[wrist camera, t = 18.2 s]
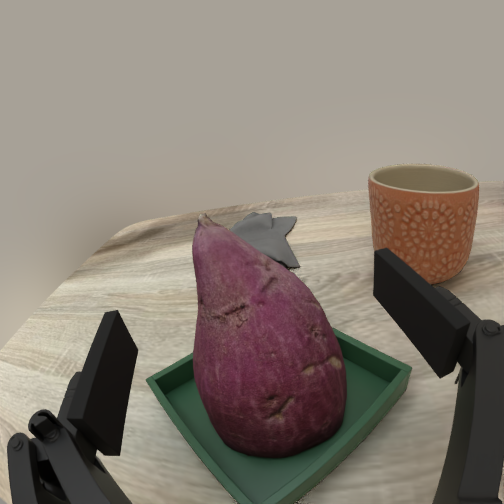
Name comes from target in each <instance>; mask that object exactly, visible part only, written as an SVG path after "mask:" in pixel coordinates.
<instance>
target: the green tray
mask: <svg viewBox="0 0 504 504" xmlns="http://www.w3.org/2000/svg"><path fill="white" fill-rule="evenodd" d="M332 329H333V331H334V334H335V336H336V338H337V340H338V343H339V345H340V348H341V351H342V355H343V360H344V364H345V369H346V380H347V399H346V405H345V412H344V418H343V423H342V425H341V427H340V428H339V430H338V431H337V432H336V433H335V434H334V435H333V436H332V437H331V438H329V439H328V440H326V441H324V442H323V443H321V444H319V445H317V446H315V447H313V448H311V449H309V450H305V451H303V452H301V453H299V454H297V455H293V456H288V457H285V458H264V457H257V456H247V455H245V454H243V453H240V452H237V451H235V450H232V449H231V448H229V447H228V446H227V445H225V444H224V442H223V441H222V440H221V438H220V437H219V435H218V434H217V432H216V431H215V429H214V427H213V425H212V424H211V422H210V419H209V417H208V414H207V412H206V410H205V408H204V405H203V403H202V400H201V398H200V395H199V392H198V389H197V386H196V383H195V378H194V370H193V353H191V354H190V355H188V356H186V357H184V358H183V359H181V360H179V361H177V362H176V363H174V364H172V365H170V366H169V367H167V368H165V369H163V370H162V371H160V372H158V373H156V374H154V375H153V376H151V377H149V378H147V379H146V381H147V383H148V385H149V386H150V388H151V390H152V391H153V393H154V394H155V396H156V397H157V399H158V401H159V402H160V404H161V405H162V407H163V408H164V410H165V411H166V413H167V414H168V416H169V417H170V418H171V420H172V421H173V423H174V424H175V426H176V427H177V428H178V430H179V431H180V433H181V434H182V435H183V437H184V438H185V439H186V441H187V442H188V444H189V445H190V446H191V447H192V449H193V450H194V451H195V453H196V454H197V455H198V457H199V458H200V459H201V460H202V462H203V463H204V464H205V465H206V467H207V468H208V469H209V470H210V471H211V473H212V474H213V475H214V476H215V477H216V479H217V480H218V481H219V482H220V483H221V484H222V486H223V487H224V488H225V489H226V490H227V491H228V492H229V493H230V494H231V496H232V497H233V498H234V499H235V500H236V501H237V502H238V503H239V504H294V503H295V502H296V501H297V500H299V499H300V498H301V497H302V496H304V495H305V494H306V493H307V492H308V491H310V490H311V489H312V488H313V487H314V486H316V485H317V484H318V483H319V482H320V481H321V480H322V479H324V478H325V477H326V476H327V475H328V474H329V473H330V472H331V471H332V470H333V469H335V468H336V467H337V466H338V465H339V464H340V463H341V462H342V461H343V460H344V459H345V458H346V457H347V456H348V455H349V454H350V453H351V452H352V451H353V450H354V449H355V448H356V447H357V446H358V445H359V444H360V443H361V442H362V441H363V440H364V439H365V438H366V436H367V435H368V434H369V433H370V432H371V431H372V430H373V429H374V428H375V427H376V425H377V424H378V423H379V422H380V421H381V420H382V419H383V417H384V416H385V415H386V414H387V413H388V411H389V410H390V409H391V408H392V407H393V405H394V404H395V403H396V402H397V400H398V399H399V398H400V397H401V395H402V394H403V393H404V391H405V390H406V388H407V384H408V381H409V378H410V374H411V370H412V367H411V366H408V365H406V364H404V363H402V362H400V361H398V360H396V359H394V358H392V357H390V356H388V355H386V354H384V353H382V352H380V351H378V350H376V349H374V348H372V347H370V346H368V345H366V344H364V343H362V342H360V341H358V340H356V339H354V338H352V337H350V336H348V335H346V334H344V333H342V332H340V331H338V330H336V329H334V328H332Z"/></svg>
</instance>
